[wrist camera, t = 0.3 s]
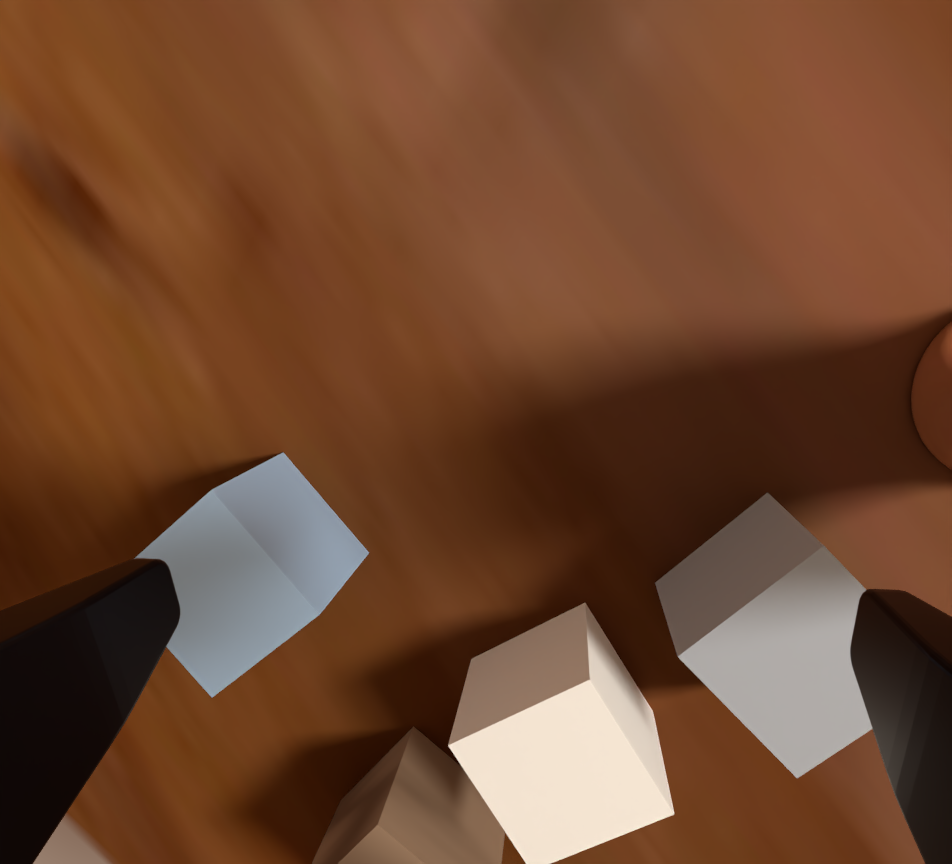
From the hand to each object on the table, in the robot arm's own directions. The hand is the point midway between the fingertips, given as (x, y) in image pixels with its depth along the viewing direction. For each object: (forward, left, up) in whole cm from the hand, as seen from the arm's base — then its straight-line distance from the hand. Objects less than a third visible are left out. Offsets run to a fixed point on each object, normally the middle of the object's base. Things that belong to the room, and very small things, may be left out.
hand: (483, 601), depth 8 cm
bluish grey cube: (-11, +2, -14) cm, 18 cm away
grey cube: (+2, -10, -14) cm, 18 cm away
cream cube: (-6, -9, -14) cm, 18 cm away
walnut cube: (-14, -10, -14) cm, 22 cm away
